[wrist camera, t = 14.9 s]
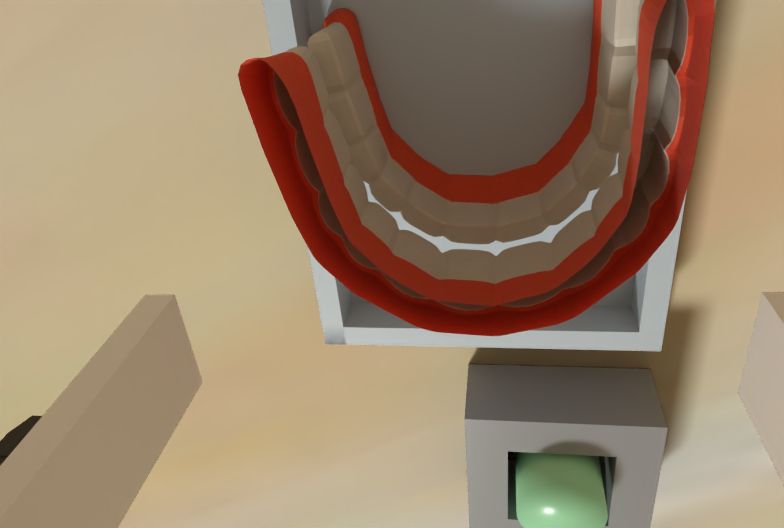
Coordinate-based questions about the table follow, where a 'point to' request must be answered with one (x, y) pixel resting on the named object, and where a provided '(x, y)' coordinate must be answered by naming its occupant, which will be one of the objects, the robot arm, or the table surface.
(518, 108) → the grey tray
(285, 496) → the table surface
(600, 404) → the grey square holder
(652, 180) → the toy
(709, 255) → the table surface
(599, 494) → the button
